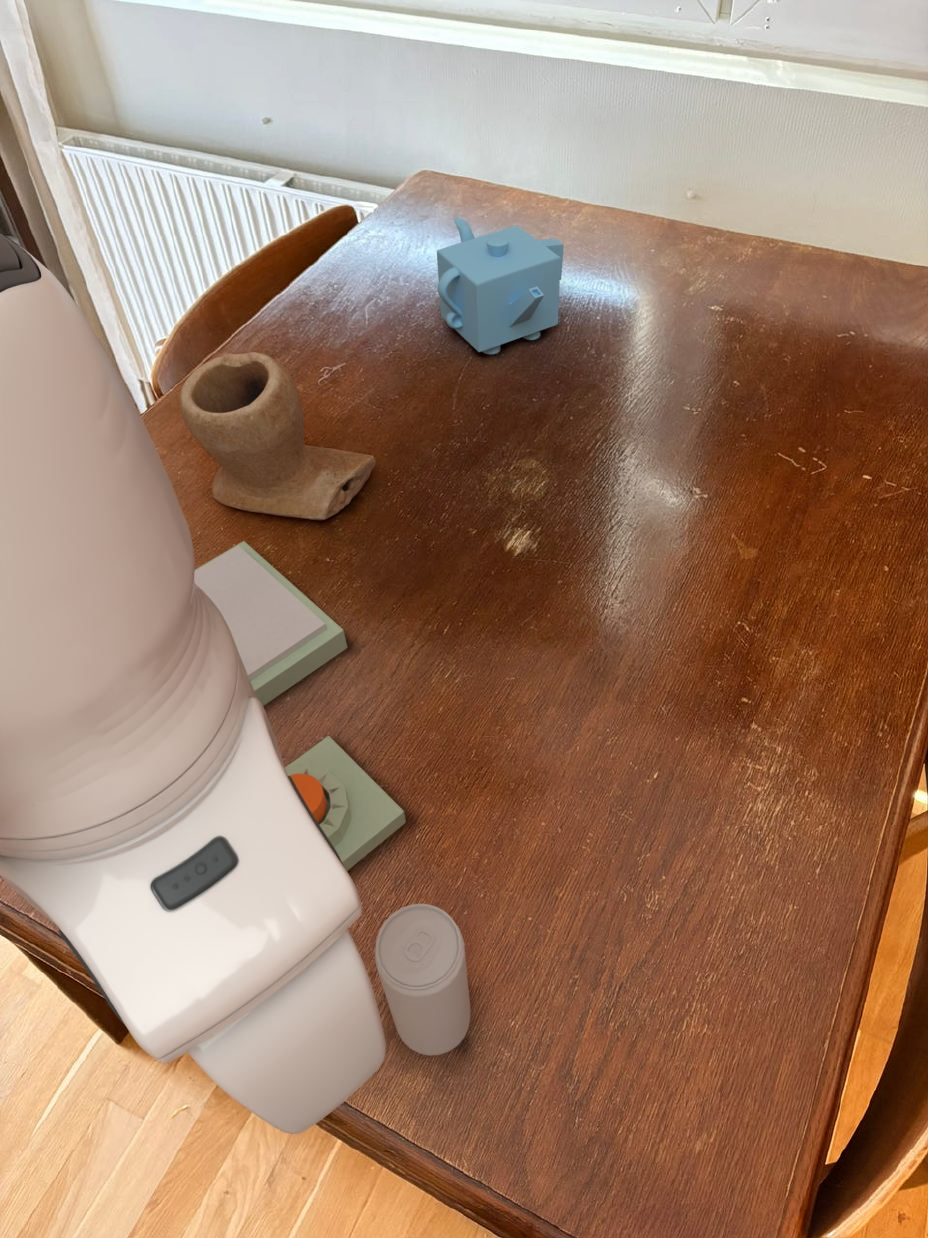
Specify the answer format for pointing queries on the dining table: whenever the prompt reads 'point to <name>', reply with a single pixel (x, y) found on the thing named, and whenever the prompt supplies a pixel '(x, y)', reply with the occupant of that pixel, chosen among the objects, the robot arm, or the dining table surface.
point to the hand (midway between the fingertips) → (231, 926)
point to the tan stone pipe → (265, 441)
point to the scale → (269, 620)
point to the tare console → (349, 802)
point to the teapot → (499, 286)
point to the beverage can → (424, 977)
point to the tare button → (311, 794)
